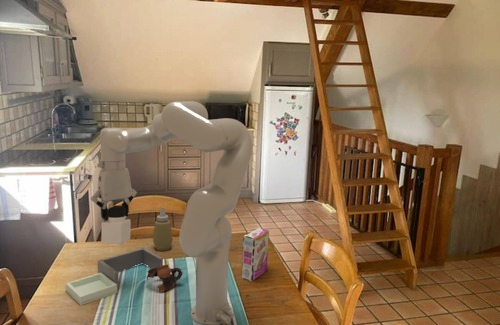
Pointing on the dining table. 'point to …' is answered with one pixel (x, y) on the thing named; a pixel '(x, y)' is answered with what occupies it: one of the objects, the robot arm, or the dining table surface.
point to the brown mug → (165, 276)
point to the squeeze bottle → (162, 232)
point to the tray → (91, 288)
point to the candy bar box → (255, 254)
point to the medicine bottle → (116, 226)
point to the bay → (127, 262)
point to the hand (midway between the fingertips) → (115, 216)
